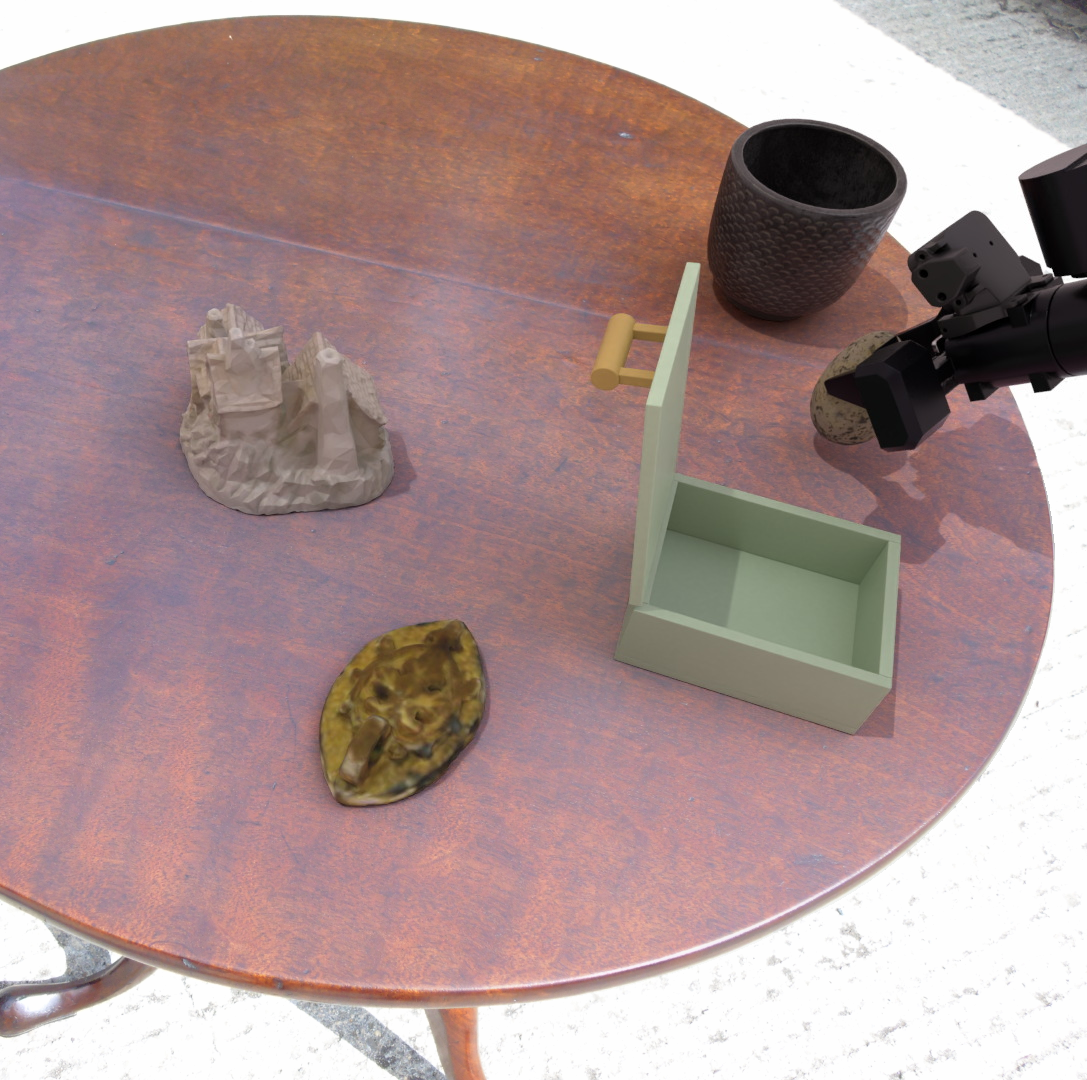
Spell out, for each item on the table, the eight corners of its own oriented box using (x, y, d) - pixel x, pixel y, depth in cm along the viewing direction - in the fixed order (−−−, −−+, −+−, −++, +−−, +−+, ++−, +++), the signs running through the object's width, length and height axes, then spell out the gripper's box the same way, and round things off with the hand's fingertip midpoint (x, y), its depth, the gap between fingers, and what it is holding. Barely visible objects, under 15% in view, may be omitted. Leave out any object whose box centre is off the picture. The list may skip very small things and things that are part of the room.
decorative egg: (785, 410, 84) (831, 310, 77) (857, 406, 85) (910, 305, 77) (813, 465, 81) (865, 366, 73) (888, 460, 81) (947, 361, 74)
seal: (394, 608, 74) (280, 780, 66) (391, 564, 71) (270, 739, 62) (519, 657, 71) (416, 845, 62) (522, 613, 67) (413, 806, 59)
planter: (879, 318, 94) (947, 189, 84) (757, 363, 90) (812, 233, 80) (774, 230, 102) (825, 102, 91) (656, 269, 97) (695, 139, 87)
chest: (866, 586, 75) (901, 535, 71) (853, 735, 68) (892, 689, 63) (648, 523, 78) (668, 470, 74) (613, 659, 71) (633, 609, 66)
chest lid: (700, 262, 61) (623, 255, 63) (661, 406, 54) (574, 394, 55) (676, 466, 73) (612, 456, 75) (641, 606, 66) (570, 593, 67)
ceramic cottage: (396, 515, 78) (400, 349, 66) (170, 519, 78) (136, 353, 66) (390, 378, 88) (392, 215, 77) (191, 381, 88) (164, 218, 77)
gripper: (1106, 152, 67) (883, 222, 81) (950, 265, 60) (732, 321, 73) (1155, 314, 70) (930, 355, 84) (1011, 443, 62) (789, 465, 76)
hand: (849, 370), depth 79 cm, fingers closed on decorative egg, 5 cm apart
